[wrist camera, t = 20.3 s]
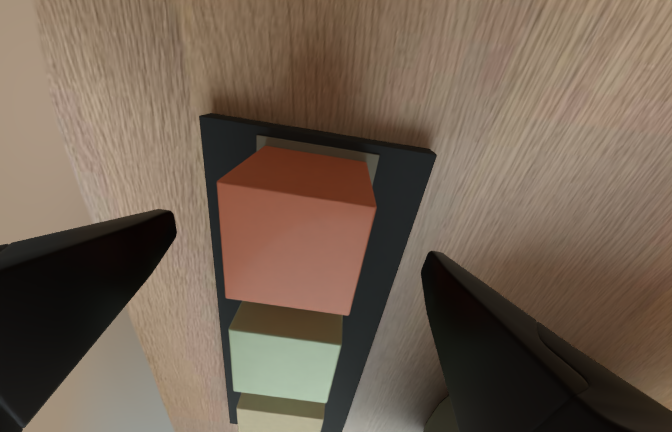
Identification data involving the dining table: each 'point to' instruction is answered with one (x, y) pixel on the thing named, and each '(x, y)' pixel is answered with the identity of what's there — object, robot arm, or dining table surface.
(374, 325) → the word board
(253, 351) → the pale green cube
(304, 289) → the reddish brown cube
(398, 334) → the dining table surface
